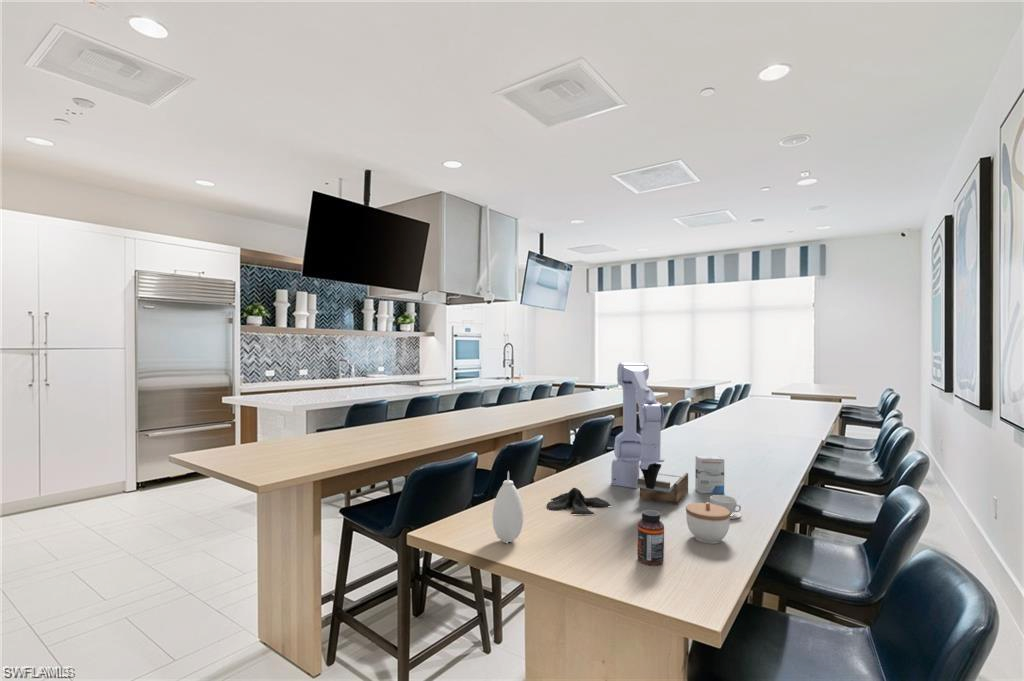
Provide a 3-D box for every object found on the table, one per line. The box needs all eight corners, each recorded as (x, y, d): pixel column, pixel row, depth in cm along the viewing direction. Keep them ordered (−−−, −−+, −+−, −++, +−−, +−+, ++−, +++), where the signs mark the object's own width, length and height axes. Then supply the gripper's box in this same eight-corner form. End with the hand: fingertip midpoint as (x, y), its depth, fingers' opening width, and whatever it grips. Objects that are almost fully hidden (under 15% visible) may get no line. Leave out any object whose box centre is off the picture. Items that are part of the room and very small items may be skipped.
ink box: (720, 489, 175) (720, 455, 175) (724, 494, 170) (724, 459, 170) (694, 488, 176) (694, 455, 176) (698, 493, 171) (698, 458, 171)
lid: (637, 487, 159) (637, 478, 159) (651, 476, 172) (651, 468, 172) (669, 492, 154) (669, 483, 154) (680, 480, 167) (680, 472, 167)
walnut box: (639, 498, 164) (639, 478, 164) (652, 486, 178) (652, 468, 178) (677, 505, 158) (677, 484, 158) (688, 492, 172) (688, 473, 172)
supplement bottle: (633, 555, 120) (634, 508, 120) (658, 555, 121) (658, 507, 121) (642, 567, 114) (642, 516, 114) (667, 566, 115) (668, 516, 115)
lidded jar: (731, 550, 124) (731, 512, 124) (685, 543, 128) (685, 506, 128) (728, 534, 134) (729, 499, 134) (686, 529, 138) (686, 494, 138)
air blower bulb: (493, 535, 132) (494, 466, 132) (523, 536, 132) (523, 467, 132) (491, 547, 124) (491, 474, 124) (523, 548, 124) (523, 475, 124)
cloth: (616, 503, 161) (616, 484, 161) (596, 521, 144) (596, 500, 144) (552, 493, 172) (552, 475, 172) (527, 508, 155) (527, 488, 155)
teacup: (700, 514, 150) (700, 498, 150) (712, 506, 158) (712, 491, 158) (734, 522, 144) (734, 506, 144) (746, 514, 151) (746, 498, 151)
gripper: (657, 449, 145) (657, 496, 145) (669, 440, 158) (669, 484, 158) (633, 446, 149) (633, 492, 149) (647, 438, 161) (647, 481, 161)
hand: (650, 488), depth 154 cm, fingers closed
